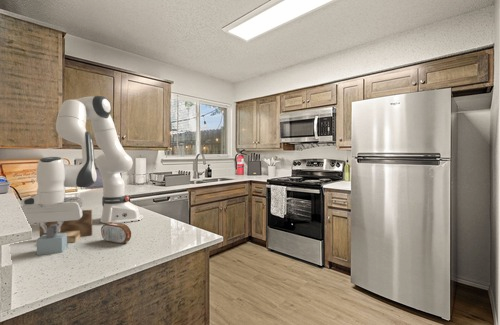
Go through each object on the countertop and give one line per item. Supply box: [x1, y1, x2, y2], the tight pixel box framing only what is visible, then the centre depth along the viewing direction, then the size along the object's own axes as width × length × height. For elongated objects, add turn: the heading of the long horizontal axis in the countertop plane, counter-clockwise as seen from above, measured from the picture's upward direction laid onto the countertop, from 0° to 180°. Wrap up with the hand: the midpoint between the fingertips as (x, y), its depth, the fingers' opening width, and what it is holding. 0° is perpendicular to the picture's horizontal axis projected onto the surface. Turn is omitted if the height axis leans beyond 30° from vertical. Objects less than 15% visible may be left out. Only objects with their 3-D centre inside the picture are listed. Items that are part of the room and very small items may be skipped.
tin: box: [100, 222, 132, 245], centre depth 110 cm, size 15×3×8 cm, turn 71°
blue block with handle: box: [36, 224, 68, 256], centre depth 99 cm, size 8×6×10 cm
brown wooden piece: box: [38, 209, 93, 244], centre depth 112 cm, size 20×10×12 cm, turn 111°
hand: (52, 232), depth 99 cm, fingers closed on blue block with handle
